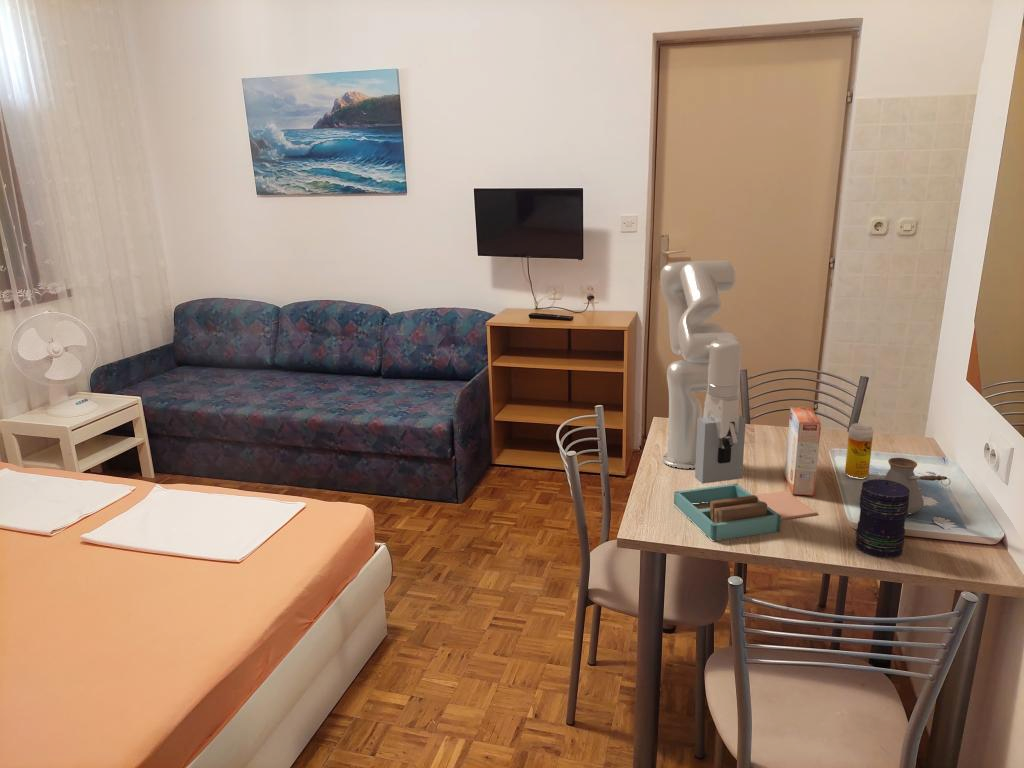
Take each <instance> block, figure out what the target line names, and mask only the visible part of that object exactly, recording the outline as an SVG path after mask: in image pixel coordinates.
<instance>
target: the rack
mask: <svg viewBox="0 0 1024 768" xmlns="http://www.w3.org/2000/svg"><path fill="white" fill-rule="evenodd" d="M752 495H753V494H752V493H750V492H749V491H748V490H746V489H744V488H743V487H742V486H741V485H739V484H738V483H732V484H730V483H729V484H724V485H717V486H715V485H714V486H709V487H701V488H694V489H684V490H677V491H674V492H673V505H674V504H675V505H676V506H677V507H678V508H679V509H680V510H681V511H682V512H683V513H684V514H685V515H686V516H687V517H689V519H691V520H692V521H693V522H694V523H695V524H696V525H697V526H698V527H699V528H700V529H701V530H702V531H703V532H704V533H705V534H706V535H707V536H709V537H710V538H711V539H712V540H717V539H718V541H720V540H719V539H724V540H728V539H727V538H731V539H736V538H735V537H737V538H742V537H749V536H756V535H763V534H770V533H776V532H780V531H781V524H782V523H781V522H782V520H781V516H780V515H779V514H778V513H776V512H775V511H774V510H772V509H771V508H769V507H768V506H767V514H766V516H763V517H756V518H749V519H742V520H735V521H729V522H722V523H714V522H712V521H711V520H710V508H708V509H699V508H698V507H696V506H695V505H693V504H692V503H702V502H711V501H715V500H723V499H730V498H737V497H744V496H752ZM758 502H761V501H760V500H758ZM689 519H688V520H689ZM701 530H700V531H701ZM702 531H701V532H702ZM703 532H702V533H703ZM704 533H703V534H704ZM705 534H704V535H705ZM706 535H705V536H706ZM707 536H706V537H707Z"/></svg>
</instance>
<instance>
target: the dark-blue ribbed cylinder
mask: <svg viewBox="0 0 1024 768" xmlns="http://www.w3.org/2000/svg"><path fill="white" fill-rule="evenodd" d="M909 495H910V490H909V488H908V487H906V486H904V485H902V484H900V483H897V482H894V481H889V480H883V479H868V480H865V481H863V482H862V484H861V491H860V496H859V502H858V503H859V509H860V510H859V520H858V522H857V528H856V541H855V547H856V548H857V550H858V551H860V552H862V554H863V553H864V554H865V555H867V556H871V557H873V558H879V559H895V558H898V557H900V556H901V555H902V554H903V548H904V544H905V538H906V537H905V535H906V534H905V533H906V529H905V524H906V517H907V516H908V515H907V513H908V507H909Z"/></svg>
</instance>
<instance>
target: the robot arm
mask: <svg viewBox="0 0 1024 768" xmlns="http://www.w3.org/2000/svg"><path fill="white" fill-rule="evenodd" d="M659 281H660V282H659V283H660V289H661V292H662V296H663V298H664V301H665V304H666V307H667V312H668V329H669V330H668V331H669V342H670V343H669V344H670V348H671V351H672V353H673V354H674V355H678V356H682V357H683V359H680V360H676V361H673V362H671V363H670V364H669V365H668V367H667V370H666V380H667V381H666V382H667V388H668V427H667V429H668V433H667V442H666V447H667V452H665V453H664V454H663V455H662V458H661V459H662V462H663V464H665V465H666V464H667V466H668V465H669V467H671V466H672V468H675V467H677V468H676V469H682V468H683V469H684V470H686V469H687V470H688V469H689V468H691V469H695V463H696V442H697V420H698V418H706V417H708V418H709V419H711V420H713V421H714V422H715V436H716V437H718V438H719V439H720V448H719V451H718V463H720V464H721V463H729V462H730V461H731V448H732V447H733V445H734V444H736V443H737V437H736V436H737V434H738V427H739V415H740V412H739V411H740V410H739V409H740V407H739V398H740V383H741V370H742V369H741V365H742V351H743V350H742V344H741V343H740V342H739V339H738V338H737V336H736V335H735V334H733V333H731V332H726V331H725V329H724V326H722V325H721V324H720V323H717V322H714V321H713V322H711V321H710V322H704V321H706V320H709V319H710V318H712V317H714V316H715V315H716V314H717V313H718V312H719V311H720V309H721V308H722V307H721V306H722V302H721V298H720V294H719V292H727V291H728V292H729V291H731V290H732V289H733V288H734V286H735V283H736V270H735V269H734V266H733V264H732V263H731V262H729V261H728V260H727V259H726V260H724V259H720V260H696V261H677V262H670V263H668V264H665V265H664V266H663V267H662V268H661V270H660V277H659ZM705 392H706V395H705V400H704V404H703V405H704V406H703V407H702V403H701V402H700V399H698V398H697V397H696V396H695V395H694V394H695V393H705ZM702 412H703V414H702ZM727 434H729V435H727ZM726 435H727V436H726ZM724 439H728V441H726V442H725V443H724ZM689 470H690V469H689Z"/></svg>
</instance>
